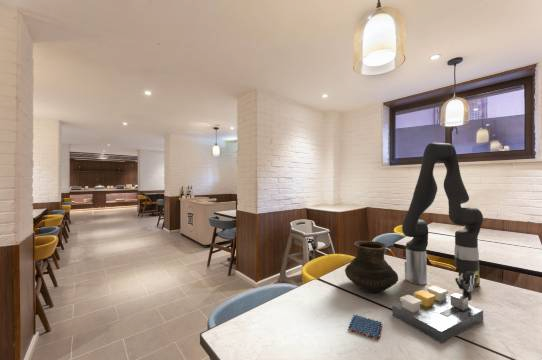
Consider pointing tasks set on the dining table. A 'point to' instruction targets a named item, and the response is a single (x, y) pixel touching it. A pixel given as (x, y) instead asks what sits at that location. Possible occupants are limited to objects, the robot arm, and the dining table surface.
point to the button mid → (425, 297)
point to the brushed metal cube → (459, 301)
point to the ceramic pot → (371, 268)
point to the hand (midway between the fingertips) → (467, 299)
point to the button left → (411, 303)
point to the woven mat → (366, 327)
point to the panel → (439, 319)
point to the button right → (438, 292)
